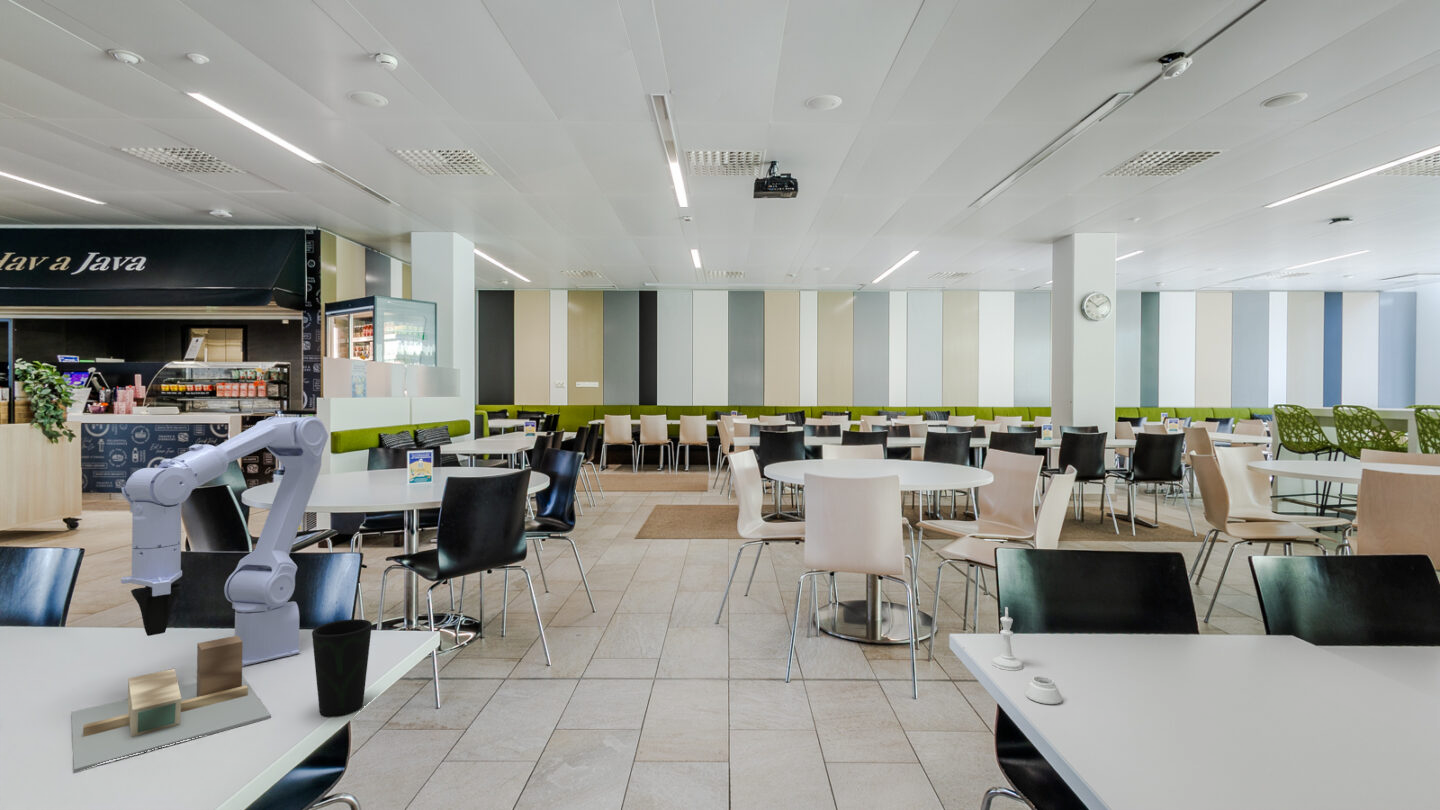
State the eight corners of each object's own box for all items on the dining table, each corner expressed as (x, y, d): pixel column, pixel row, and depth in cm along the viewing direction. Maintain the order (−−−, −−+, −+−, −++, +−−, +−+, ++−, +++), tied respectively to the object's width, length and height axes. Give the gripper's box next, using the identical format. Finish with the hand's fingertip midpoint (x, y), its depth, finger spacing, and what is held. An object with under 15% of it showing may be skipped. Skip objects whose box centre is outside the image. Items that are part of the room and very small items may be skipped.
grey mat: (240, 675, 108) (240, 672, 108) (270, 717, 92) (270, 714, 92) (71, 714, 93) (71, 711, 93) (73, 772, 78) (73, 769, 78)
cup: (382, 701, 98) (383, 622, 98) (338, 724, 91) (339, 638, 91) (344, 694, 100) (345, 617, 101) (298, 715, 93) (299, 632, 93)
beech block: (174, 668, 95) (181, 699, 89) (173, 693, 95) (180, 724, 90) (128, 678, 91) (132, 710, 85) (127, 703, 92) (131, 737, 86)
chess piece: (991, 668, 111) (991, 609, 111) (991, 658, 115) (991, 602, 116) (1023, 672, 109) (1022, 613, 109) (1021, 662, 113) (1021, 605, 114)
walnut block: (236, 685, 102) (237, 635, 103) (241, 693, 100) (242, 641, 100) (196, 695, 99) (197, 643, 99) (200, 703, 96) (201, 649, 96)
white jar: (1018, 693, 101) (1039, 707, 96) (1018, 674, 101) (1038, 687, 96) (1047, 691, 102) (1069, 705, 97) (1047, 672, 102) (1069, 685, 97)
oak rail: (246, 693, 100) (246, 685, 100) (247, 695, 99) (247, 687, 99) (83, 733, 87) (83, 724, 87) (83, 736, 86) (83, 727, 86)
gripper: (118, 542, 102) (117, 628, 102) (125, 556, 92) (123, 652, 91) (176, 536, 107) (175, 618, 107) (189, 549, 97) (187, 639, 97)
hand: (155, 633), depth 99 cm, fingers closed
